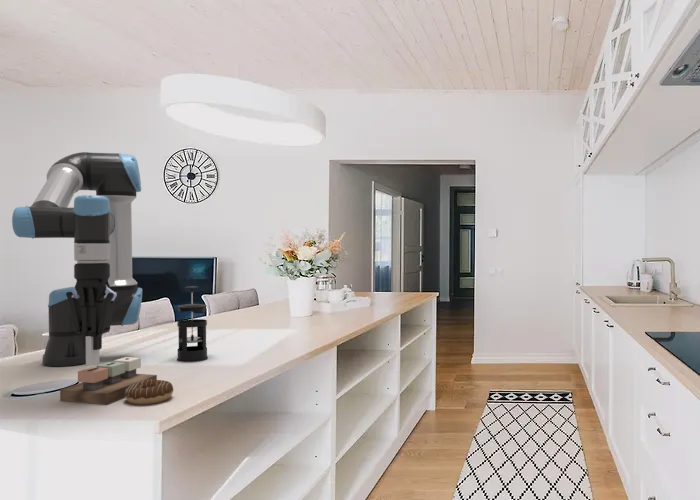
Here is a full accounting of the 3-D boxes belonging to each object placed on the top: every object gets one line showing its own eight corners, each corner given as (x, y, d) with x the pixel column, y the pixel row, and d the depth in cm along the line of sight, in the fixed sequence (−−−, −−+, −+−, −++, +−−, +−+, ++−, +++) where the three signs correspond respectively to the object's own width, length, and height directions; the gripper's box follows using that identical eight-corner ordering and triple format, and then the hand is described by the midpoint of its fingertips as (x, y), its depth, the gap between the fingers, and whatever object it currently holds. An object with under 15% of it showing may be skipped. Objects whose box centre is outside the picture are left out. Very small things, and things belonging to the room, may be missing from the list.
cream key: (113, 370, 135) (113, 359, 135) (125, 366, 140) (125, 356, 140) (129, 371, 134) (128, 360, 134) (140, 367, 138) (140, 357, 138)
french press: (196, 363, 163) (195, 287, 163) (169, 361, 166) (168, 287, 166) (216, 355, 174) (215, 285, 174) (190, 354, 177) (190, 284, 177)
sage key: (96, 375, 129) (96, 364, 129) (109, 371, 134) (109, 361, 134) (112, 376, 128) (112, 365, 128) (124, 372, 133) (124, 362, 133)
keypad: (60, 400, 124) (60, 381, 124) (113, 381, 141) (113, 365, 141) (107, 404, 121) (107, 385, 121) (156, 384, 138) (156, 367, 138)
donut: (183, 396, 127) (183, 379, 127) (150, 409, 118) (150, 390, 118) (148, 392, 132) (148, 375, 132) (114, 403, 122) (114, 386, 122)
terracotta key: (77, 381, 124) (77, 370, 124) (92, 377, 128) (91, 366, 128) (94, 382, 122) (94, 371, 122) (107, 378, 127) (107, 367, 127)
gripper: (56, 262, 123) (57, 365, 123) (104, 262, 120) (105, 368, 120) (80, 261, 130) (81, 359, 130) (126, 261, 127) (127, 361, 127)
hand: (92, 363), depth 125 cm, fingers closed
